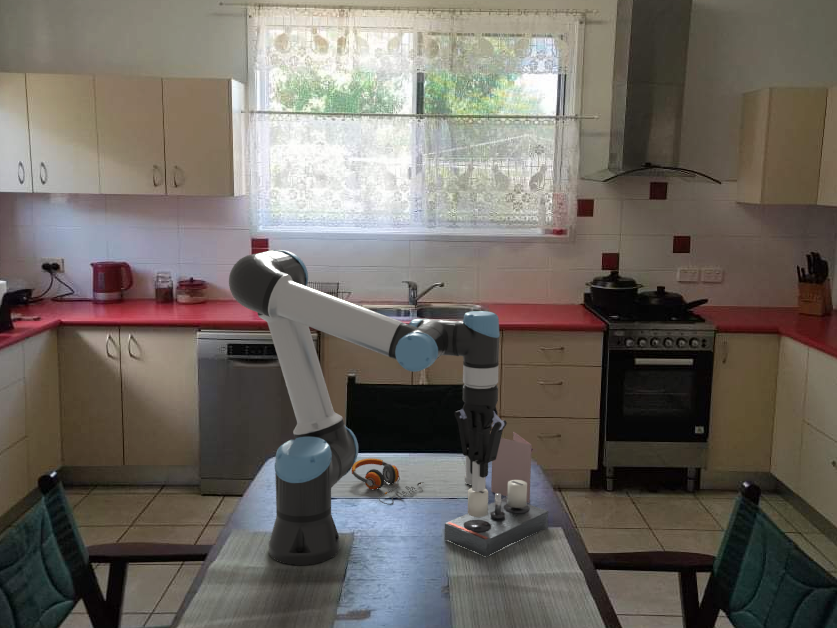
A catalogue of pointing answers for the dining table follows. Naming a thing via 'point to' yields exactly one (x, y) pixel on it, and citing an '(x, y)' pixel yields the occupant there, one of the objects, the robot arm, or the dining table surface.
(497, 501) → the potentiometer stem
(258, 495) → the dining table surface
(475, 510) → the knob near
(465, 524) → the mount
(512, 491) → the knob far
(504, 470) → the greeting card
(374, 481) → the headphones
